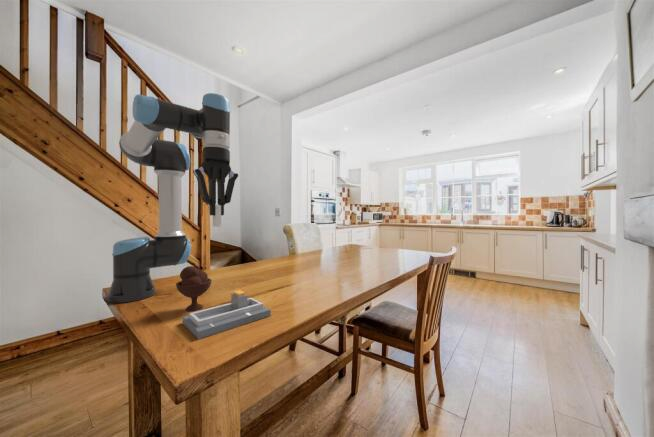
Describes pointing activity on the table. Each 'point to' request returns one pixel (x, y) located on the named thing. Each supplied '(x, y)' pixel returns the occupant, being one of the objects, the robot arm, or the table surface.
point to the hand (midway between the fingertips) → (216, 226)
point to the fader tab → (238, 300)
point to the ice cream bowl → (193, 285)
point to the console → (224, 318)
